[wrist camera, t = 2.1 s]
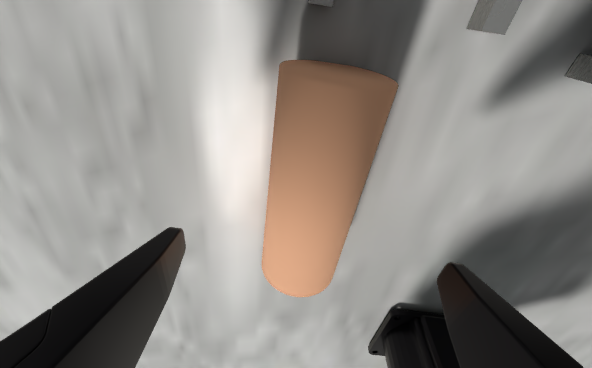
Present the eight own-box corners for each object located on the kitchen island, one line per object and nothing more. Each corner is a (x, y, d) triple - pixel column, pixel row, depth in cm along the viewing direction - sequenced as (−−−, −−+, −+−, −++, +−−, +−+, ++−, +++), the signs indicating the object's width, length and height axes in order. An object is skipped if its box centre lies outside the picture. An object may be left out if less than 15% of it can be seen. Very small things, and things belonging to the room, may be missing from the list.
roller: (330, 241, 16) (337, 301, 13) (266, 233, 16) (256, 292, 13) (381, 69, 11) (416, 99, 7) (283, 54, 10) (273, 78, 7)
